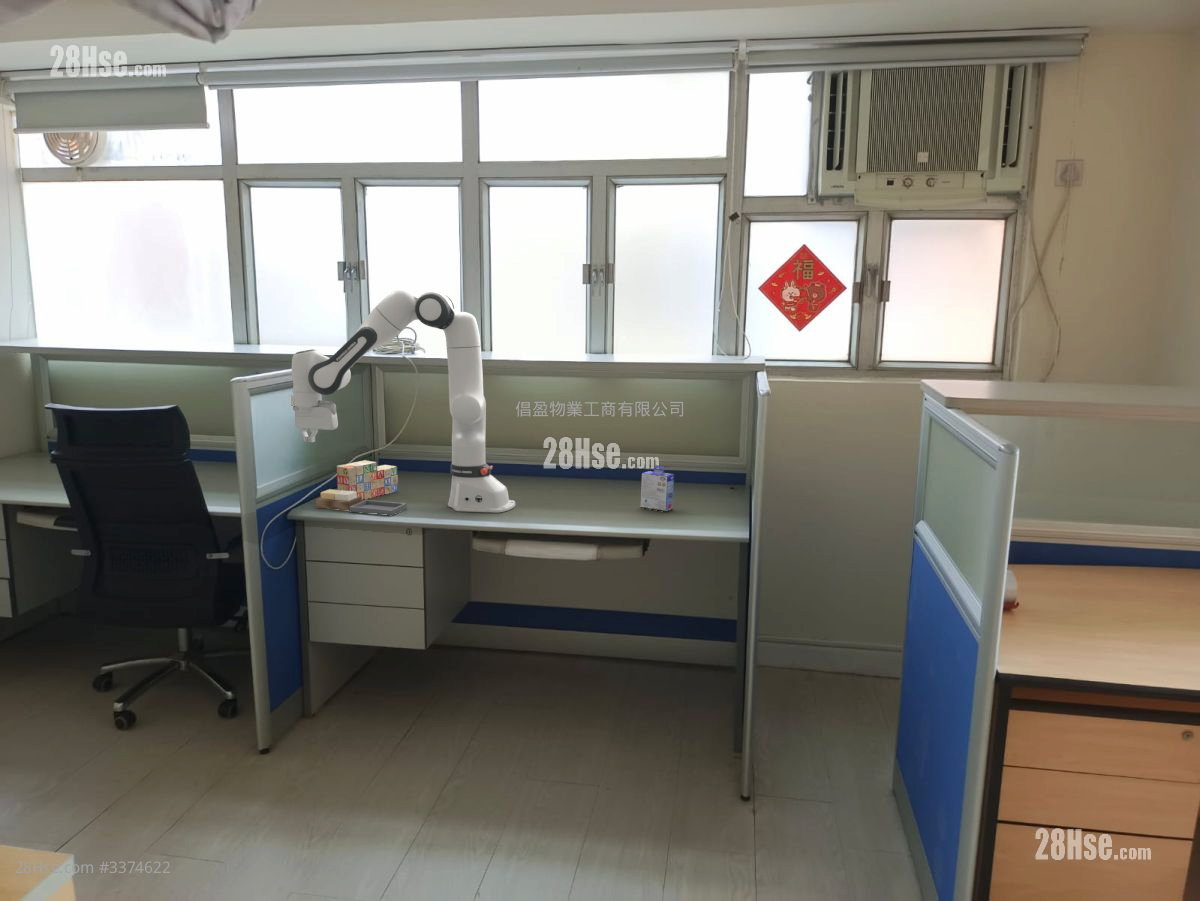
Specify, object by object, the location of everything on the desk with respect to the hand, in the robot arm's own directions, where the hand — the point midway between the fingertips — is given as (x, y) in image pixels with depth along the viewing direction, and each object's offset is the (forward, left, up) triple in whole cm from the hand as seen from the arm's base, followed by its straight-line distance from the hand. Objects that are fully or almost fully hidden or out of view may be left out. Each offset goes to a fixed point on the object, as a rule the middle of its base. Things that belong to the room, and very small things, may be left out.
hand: (309, 441), depth 266 cm
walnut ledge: (-10, 0, -21) cm, 23 cm away
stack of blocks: (-11, -17, -22) cm, 29 cm away
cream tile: (-13, 0, -18) cm, 22 cm away
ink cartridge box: (-110, -32, -21) cm, 117 cm away
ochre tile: (-8, 0, -18) cm, 20 cm away
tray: (-25, 0, -21) cm, 32 cm away
